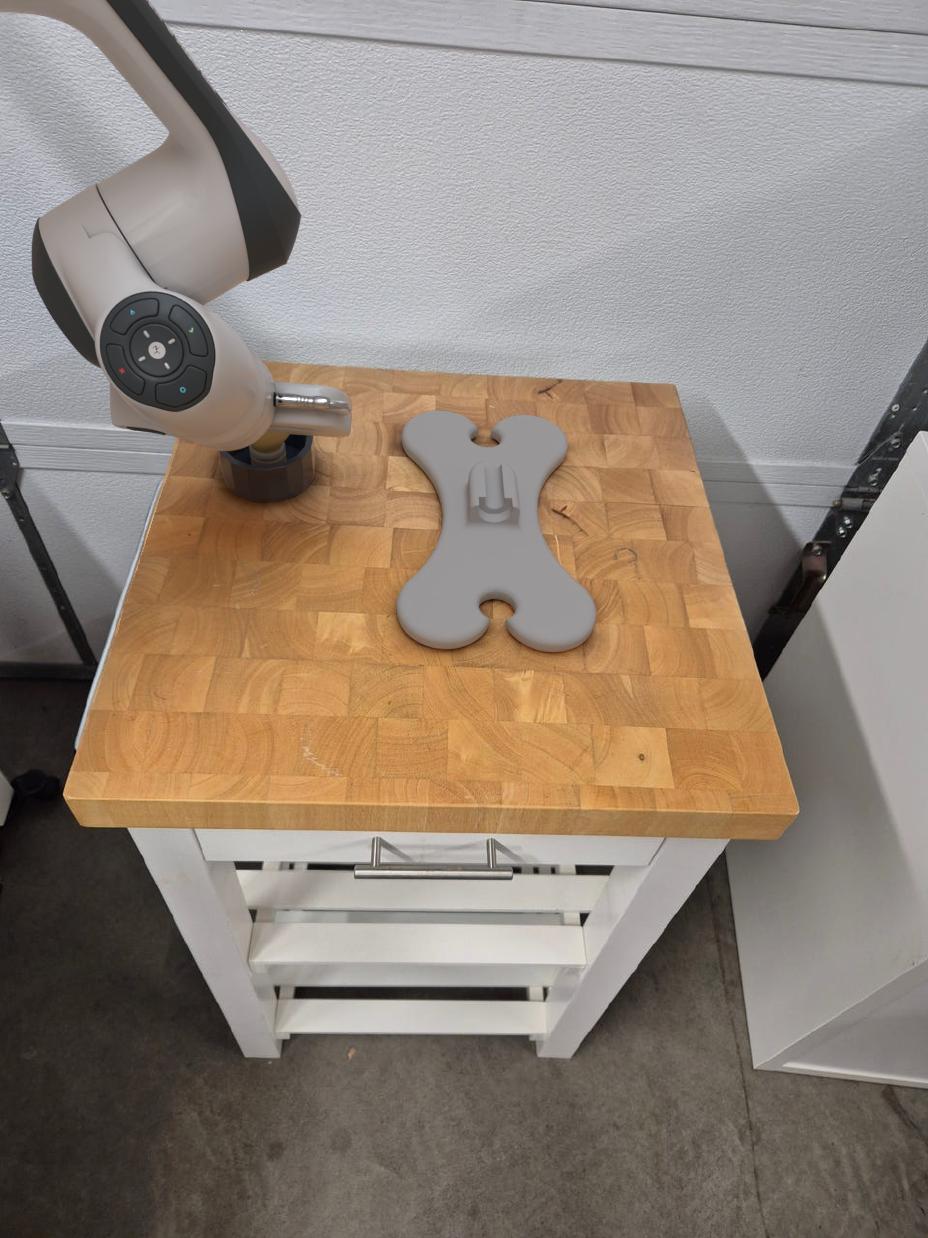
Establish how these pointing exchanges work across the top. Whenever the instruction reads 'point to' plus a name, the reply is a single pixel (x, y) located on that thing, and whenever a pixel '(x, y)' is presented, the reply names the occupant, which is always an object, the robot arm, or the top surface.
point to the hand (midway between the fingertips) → (253, 418)
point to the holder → (491, 537)
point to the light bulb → (268, 449)
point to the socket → (270, 471)
